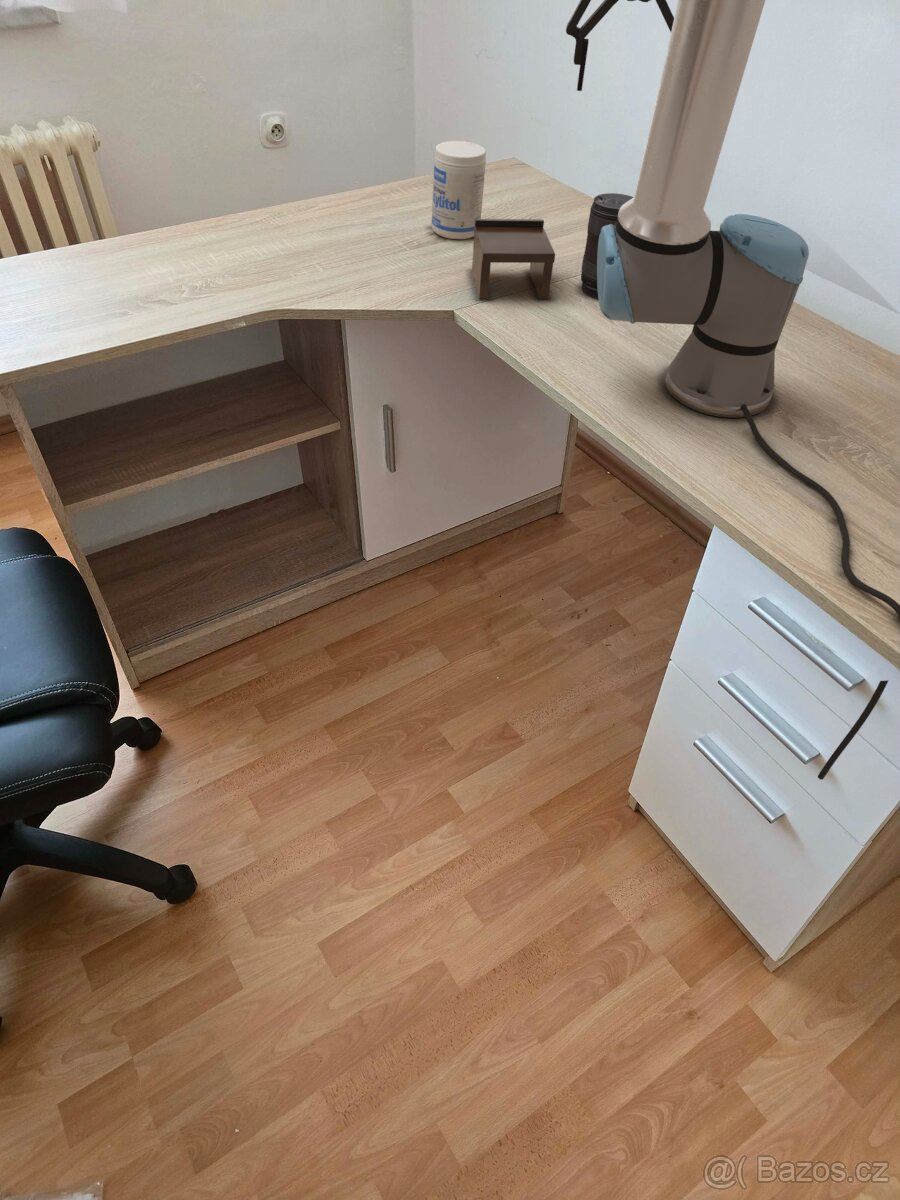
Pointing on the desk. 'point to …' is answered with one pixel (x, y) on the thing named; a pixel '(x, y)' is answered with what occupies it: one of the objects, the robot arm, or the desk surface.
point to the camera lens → (600, 216)
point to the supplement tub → (457, 188)
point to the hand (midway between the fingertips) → (621, 92)
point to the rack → (512, 251)
